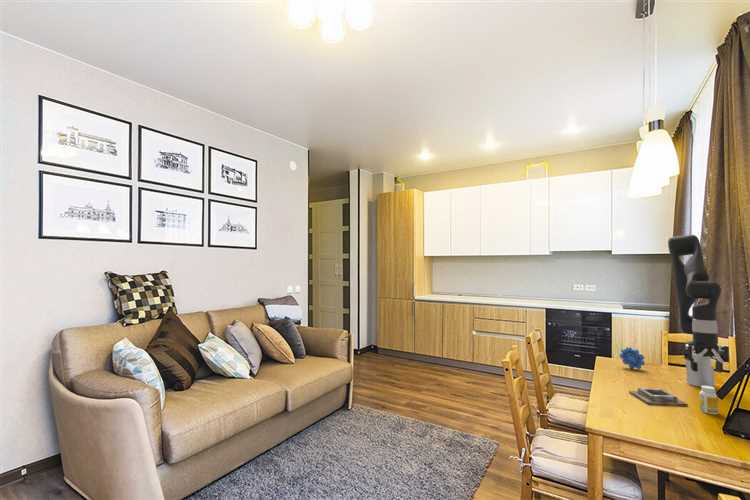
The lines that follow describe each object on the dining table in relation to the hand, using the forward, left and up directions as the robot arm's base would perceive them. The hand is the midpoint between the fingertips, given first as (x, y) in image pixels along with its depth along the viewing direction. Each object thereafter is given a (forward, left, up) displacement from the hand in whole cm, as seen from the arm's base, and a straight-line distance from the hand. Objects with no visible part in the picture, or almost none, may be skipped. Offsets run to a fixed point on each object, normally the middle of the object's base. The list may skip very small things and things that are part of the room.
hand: (706, 371), depth 143 cm
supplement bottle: (0, 0, -16) cm, 16 cm away
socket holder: (+12, -12, -16) cm, 23 cm away
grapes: (-3, -60, -16) cm, 62 cm away
